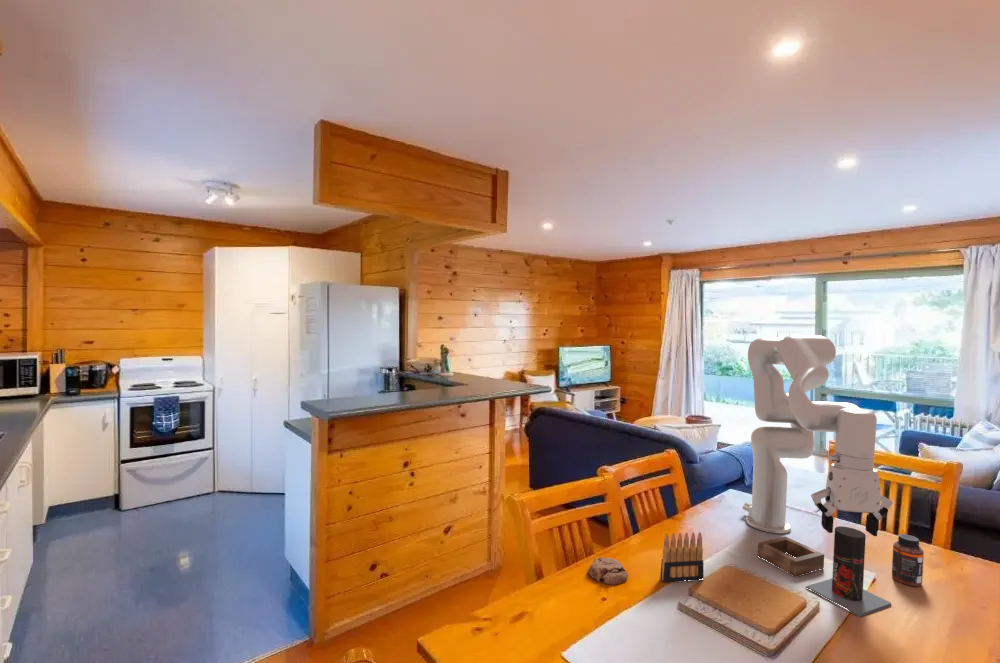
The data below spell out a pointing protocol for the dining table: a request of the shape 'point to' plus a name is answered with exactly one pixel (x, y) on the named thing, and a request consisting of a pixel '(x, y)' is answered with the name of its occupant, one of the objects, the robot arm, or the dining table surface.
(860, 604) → the mat
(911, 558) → the supplement bottle
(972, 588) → the dining table surface
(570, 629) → the dining table surface
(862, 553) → the deodorant
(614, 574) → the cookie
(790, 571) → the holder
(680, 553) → the ammunition clip
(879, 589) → the dining table surface
